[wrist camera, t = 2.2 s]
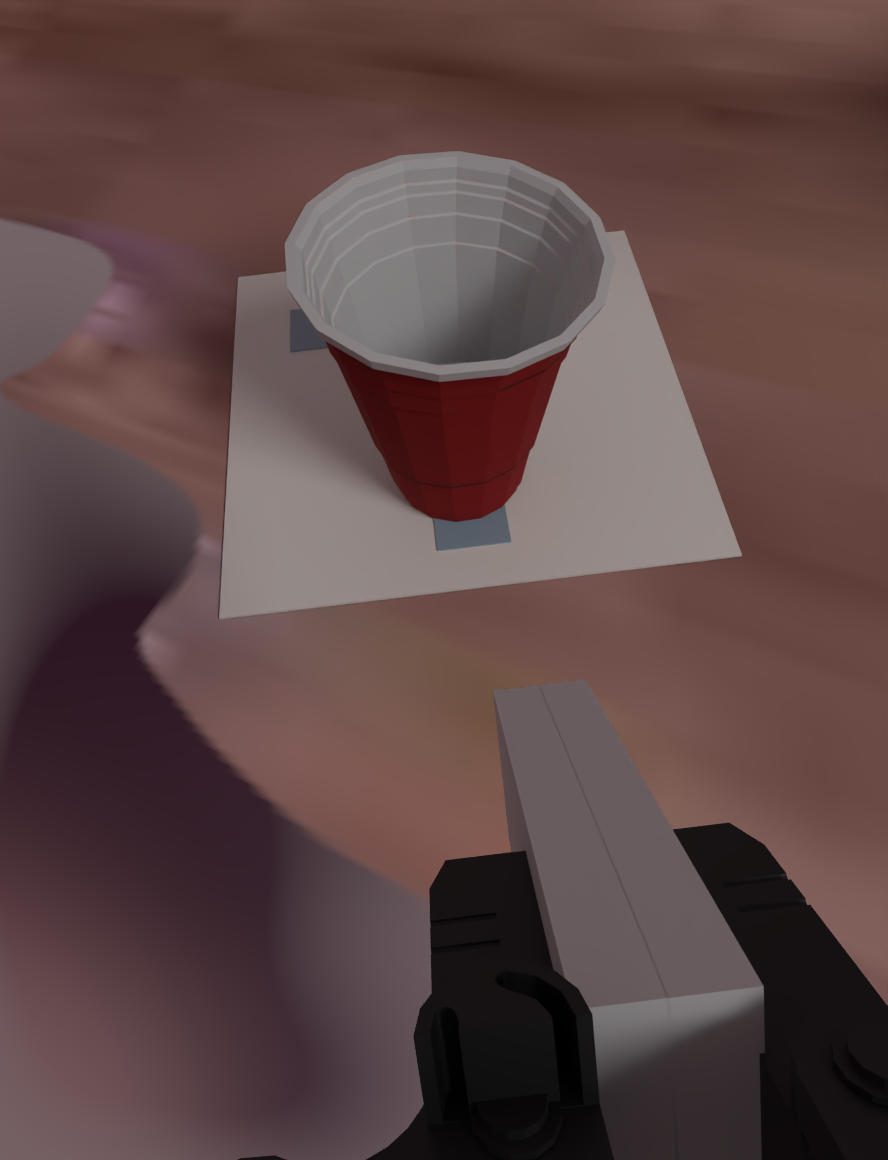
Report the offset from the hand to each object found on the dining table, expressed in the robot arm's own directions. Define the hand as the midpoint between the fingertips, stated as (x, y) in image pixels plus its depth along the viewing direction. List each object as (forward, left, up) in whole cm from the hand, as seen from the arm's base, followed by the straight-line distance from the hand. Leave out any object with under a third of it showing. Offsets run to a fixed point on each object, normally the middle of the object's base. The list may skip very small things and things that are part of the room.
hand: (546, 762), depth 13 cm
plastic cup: (0, -18, -15) cm, 24 cm away
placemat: (0, -23, -15) cm, 28 cm away
